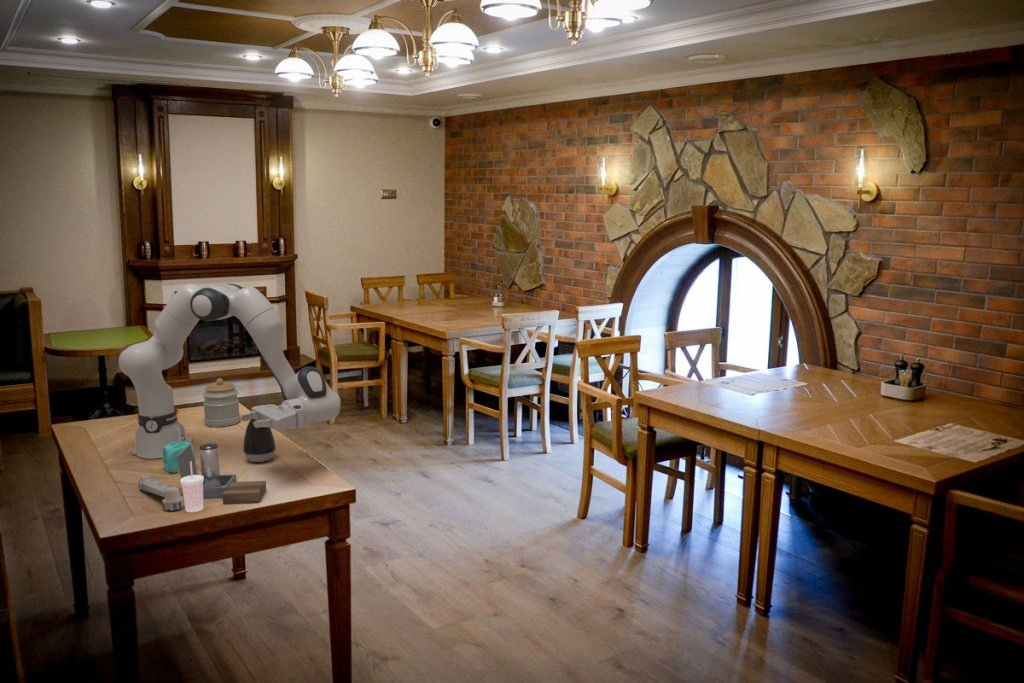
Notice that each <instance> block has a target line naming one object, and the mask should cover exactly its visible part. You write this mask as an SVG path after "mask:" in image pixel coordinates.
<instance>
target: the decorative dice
mask: <svg viewBox="0 0 1024 683" xmlns="http://www.w3.org/2000/svg"><path fill="white" fill-rule="evenodd" d="M189 444H191V443H189V442H174V443H170V444H167V445H166V446H165V447H164V448H163V458H162V461H163V466H164V468H165V471H166V472H168V473H170V472H171V473H170V474H179V473H178V471H179V466H178V461H177V457H176V456H177V455H178V454H179V453H180V452H181V451H182V450H183V449H185V448H186V447H187V446H188V445H189ZM191 448H192V452H193V456H194V461H195V462H196V455H195V454H196V453H195V450H194V446H193V444H191Z"/></svg>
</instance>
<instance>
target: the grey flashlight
mask: <svg viewBox="0 0 1024 683" xmlns="http://www.w3.org/2000/svg"><path fill="white" fill-rule="evenodd" d="M138 488H139V489H141V491H142V492H143V491H144V492H145V493H146V492H147V493H151V494H153V495H157V496H159V497H161V498H162V497H163V498H164V499H162V500H161V501H162V504H163V506H164V511H166V510H167V511H169V510H170V511H171V512H172V511H177V510H181V509H183V508H184V504H183V503H184V502H183V501H184V496H181V493H180V488H178V487H177V486H172V487H171V486H170V487H169V486H168V485H166V484H164V483H162V482H160V481H158V480H157V479H155V478H154V477H152V476H149V477H148V476H144V477H141V478H140V480H139V481H138Z"/></svg>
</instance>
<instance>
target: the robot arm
mask: <svg viewBox="0 0 1024 683" xmlns="http://www.w3.org/2000/svg"><path fill="white" fill-rule="evenodd" d="M233 316H234V317H236V318H237V319H238V320H239V321H240V322H241V324H242V325H243V327H244V328H245V329H246V331H247V332H248V334H249V336H250V337H251V338H252V340H253V342H254V343H255V345H256V347H257V349H258V351H259V353H260V355H261V357H262V359H263V360H264V363H265V364H266V366H267V368H268V369H269V371H270V373H271V374H272V376H273V378H274V379H275V381H276V382H277V384H278V386H279V389H280V391H281V395H282V396H281V397H282V398H283V401H282V402H281V404H279V405H276V404H272V403H270V404H262V405H256V406H253V407H251V411H250V412H248V413H246V414H242V415H240V419H241V421H242V422H249V421H250V420H251V419H255V420H257V421H254V422H253V426H254V427H256V428H259V427H270V428H271V429H273V430H275V431H281V432H283V431H290V430H303V429H304V428H305V426H306V425H308V424H318V423H323V422H326V421H330V420H333V419H335V418H336V417H337V416H338V415H339V413H340V411H341V407H342V400H341V398H340V395H339V394H338V393H337V392H336V391H334V390H333V389H332V388H331V387H330V386H329V385H330V384H328V382H327V380H326V378H325V375H324V373H323V372H322V371H321V370H320V369H318V368H317V367H315V366H304V367H302V368H301V369H299V370H298V372H296V373H295V371H294V369H293V367H292V366H291V364H290V363H289V360H287V358H286V356H285V354H284V348H283V344H284V343H283V342H284V337H285V336H284V335H285V329H286V327H285V324H284V323H285V322H284V321H283V319H282V317H281V315H280V314H279V312H278V311H277V309H276V308H275V307H274V305H273V304H272V303H271V302H270V301H269V300H268V298H266V296H265V295H264V294H263V293H262V292H261V291H260V290H259V289H257V288H256V287H253V286H245V287H242V286H241V285H238V284H236V283H226V284H222V283H221V284H215V285H213V286H208V287H202V286H200V285H199V284H195V283H186V284H184V285H183V286H182V287H180V289H178V290H177V291H176V292H175V293H174V295H173V296H172V297H171V298H170V299H169V300H168V302H167V303H166V305H165V306H164V307H163V309H162V311H161V312H160V314H158V316H157V318H156V319H155V321H154V329H155V331H154V333H153V335H152V336H151V337H150V338H149V339H147V340H145V341H142V342H138V343H134V344H132V345H130V346H129V347H128V346H127V348H125V349H124V350H123V351H122V352H120V354H119V357H118V366H119V368H120V371H121V372H122V373H123V375H125V376H127V377H129V379H130V380H131V383H132V384H133V387H134V389H135V393H136V398H137V408H138V414H137V422H138V423H137V424H138V427H137V428H136V429H135V430H134V442H135V443H134V449H132V450H131V451H130V453H132V454H131V455H135V456H136V457H138V458H141V459H149V460H150V459H152V460H153V459H163V448H164V447H165V446H166V445H167V444H170V443H174V442H189V443H191V444H192V443H193V437H189V436H186V432H185V431H186V430H185V426H184V425H183V424H181V423H180V422H179V420H178V415H177V414H178V413H179V409H178V408H177V407H175V403H174V402H175V401H174V391H173V388H172V386H170V385H169V384H167V383H166V381H165V379H164V376H163V372H162V371H165V370H168V369H171V368H172V367H175V365H177V364H178V363H179V362H180V361H181V360H182V359H183V356H184V347H183V346H184V344H185V342H186V340H187V338H188V336H189V335H190V334H191V332H192V331H193V330H194V328H195V327H196V325H197V324H198V322H199V321H200V320H201V321H204V322H205V321H206V322H212V321H218V320H219V321H220V320H225V319H227V318H230V317H233ZM192 445H193V444H192Z"/></svg>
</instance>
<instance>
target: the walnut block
mask: <svg viewBox="0 0 1024 683" xmlns="http://www.w3.org/2000/svg"><path fill="white" fill-rule="evenodd" d="M265 491H266V492H267V482H266V480H255V481H253V480H252V481H249V480H248V481H237V482H231V483H230V484H229V486H228V487H227V488H226V490H225V491H224V492H223V494H222V505H235V504H237V505H238V504H239V505H240V503H243V504H259V503H260V502H261V500H262V499H261V498H263V497H264V495H265V494H266V492H265ZM264 493H265V494H264ZM263 494H264V495H263ZM262 496H263V497H262ZM259 501H260V502H259ZM258 502H259V503H258Z"/></svg>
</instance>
